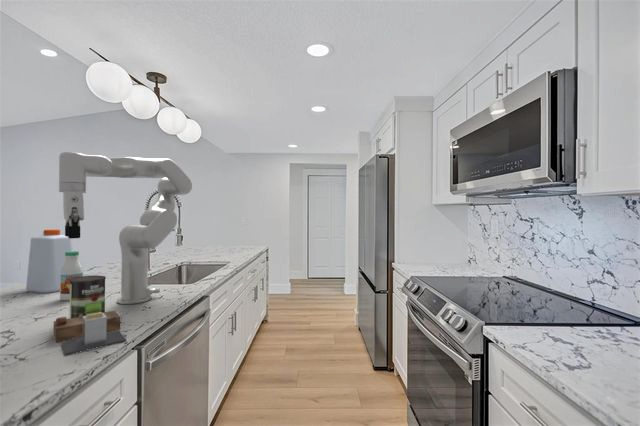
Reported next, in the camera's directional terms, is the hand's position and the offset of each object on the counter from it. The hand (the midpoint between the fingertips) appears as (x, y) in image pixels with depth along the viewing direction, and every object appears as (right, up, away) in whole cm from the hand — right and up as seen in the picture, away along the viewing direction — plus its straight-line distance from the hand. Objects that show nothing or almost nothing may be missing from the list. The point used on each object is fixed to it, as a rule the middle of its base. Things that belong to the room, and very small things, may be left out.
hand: (72, 237), depth 113 cm
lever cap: (+22, -28, -21) cm, 41 cm away
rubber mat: (+22, -29, -21) cm, 42 cm away
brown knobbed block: (+14, -29, -12) cm, 34 cm away
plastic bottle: (-40, -28, +39) cm, 62 cm away
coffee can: (+5, -29, 0) cm, 29 cm away
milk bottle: (-19, -28, +24) cm, 41 cm away
